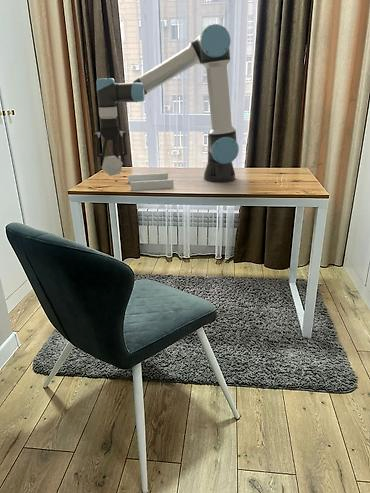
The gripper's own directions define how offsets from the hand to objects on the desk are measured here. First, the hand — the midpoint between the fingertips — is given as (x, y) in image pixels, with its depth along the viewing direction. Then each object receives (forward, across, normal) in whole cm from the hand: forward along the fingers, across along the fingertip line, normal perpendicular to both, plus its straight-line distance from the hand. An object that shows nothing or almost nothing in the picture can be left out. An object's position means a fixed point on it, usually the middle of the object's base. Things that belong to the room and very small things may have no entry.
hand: (113, 171), depth 179 cm
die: (+1, 0, +3) cm, 3 cm away
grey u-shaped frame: (+7, -16, 0) cm, 18 cm away
